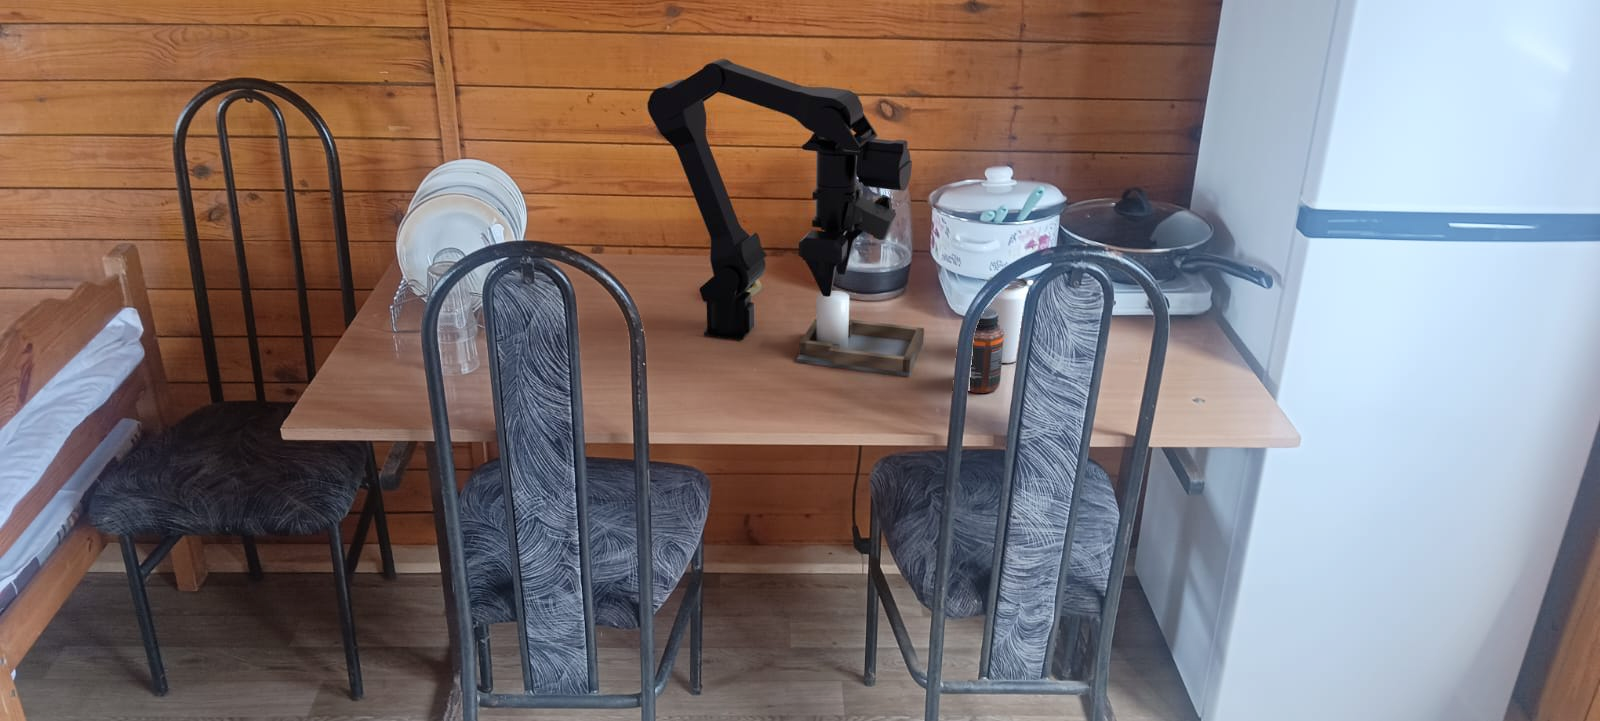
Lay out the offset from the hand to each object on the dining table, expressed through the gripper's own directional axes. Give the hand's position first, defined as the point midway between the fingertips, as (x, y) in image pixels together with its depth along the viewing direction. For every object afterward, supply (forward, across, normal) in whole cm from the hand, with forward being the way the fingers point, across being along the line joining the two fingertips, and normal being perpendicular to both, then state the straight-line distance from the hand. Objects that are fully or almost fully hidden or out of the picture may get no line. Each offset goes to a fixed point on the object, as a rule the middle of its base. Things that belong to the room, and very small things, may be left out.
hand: (834, 284), depth 170 cm
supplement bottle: (+11, -6, -23) cm, 26 cm away
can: (+11, +5, -25) cm, 27 cm away
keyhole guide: (+11, 0, -4) cm, 11 cm away
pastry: (+11, +17, +21) cm, 29 cm away
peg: (+10, 0, 0) cm, 10 cm away
